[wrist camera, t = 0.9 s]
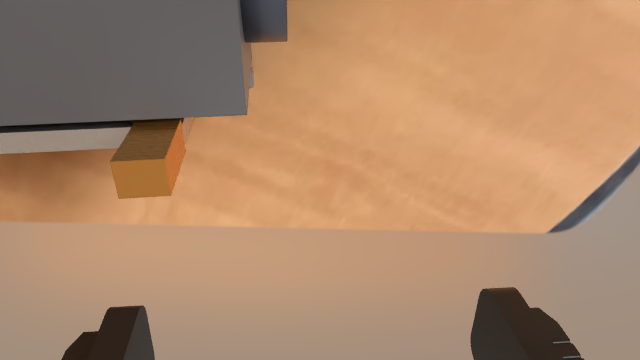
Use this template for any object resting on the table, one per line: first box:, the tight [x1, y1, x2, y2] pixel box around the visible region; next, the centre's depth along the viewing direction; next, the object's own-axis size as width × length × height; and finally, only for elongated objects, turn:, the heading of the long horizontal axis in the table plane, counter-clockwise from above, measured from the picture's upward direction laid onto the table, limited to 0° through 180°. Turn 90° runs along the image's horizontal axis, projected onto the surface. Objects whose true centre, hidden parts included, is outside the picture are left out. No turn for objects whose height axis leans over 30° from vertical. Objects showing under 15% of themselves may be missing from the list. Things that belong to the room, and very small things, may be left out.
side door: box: [0, 117, 194, 199], centre depth 24 cm, size 12×2×12 cm, turn 91°
